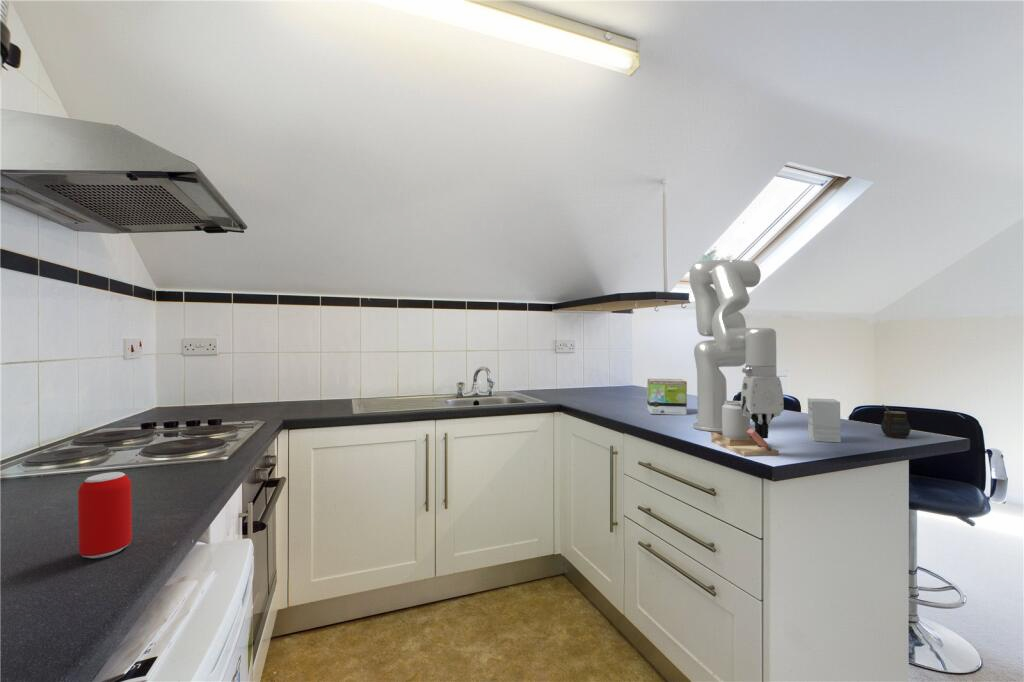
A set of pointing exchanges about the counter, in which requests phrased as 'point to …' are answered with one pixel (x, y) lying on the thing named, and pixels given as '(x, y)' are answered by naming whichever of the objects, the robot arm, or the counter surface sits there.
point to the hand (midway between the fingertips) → (761, 437)
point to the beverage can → (104, 514)
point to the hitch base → (742, 445)
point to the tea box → (667, 396)
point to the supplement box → (824, 420)
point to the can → (734, 421)
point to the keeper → (758, 438)
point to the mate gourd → (895, 424)
